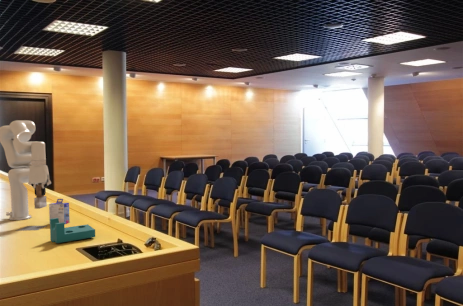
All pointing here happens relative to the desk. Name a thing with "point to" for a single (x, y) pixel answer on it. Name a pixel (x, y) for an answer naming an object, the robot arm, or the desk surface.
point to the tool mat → (31, 228)
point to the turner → (39, 198)
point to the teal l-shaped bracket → (69, 232)
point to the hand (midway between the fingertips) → (40, 194)
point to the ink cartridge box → (59, 211)
